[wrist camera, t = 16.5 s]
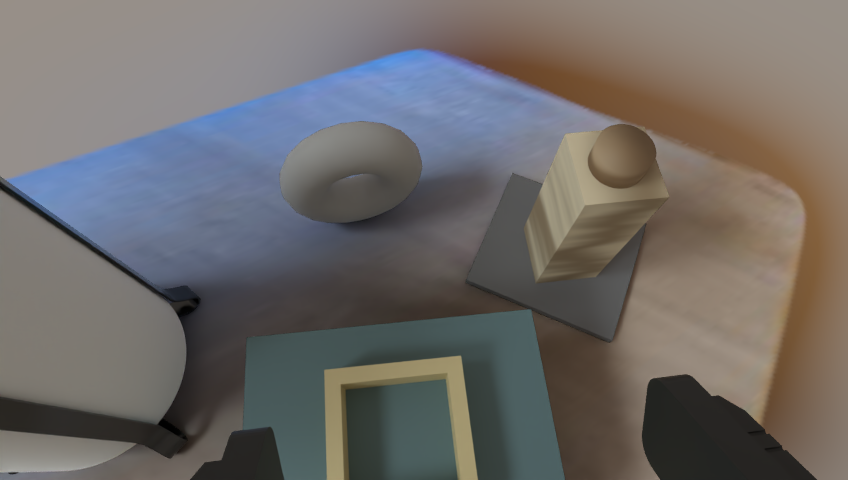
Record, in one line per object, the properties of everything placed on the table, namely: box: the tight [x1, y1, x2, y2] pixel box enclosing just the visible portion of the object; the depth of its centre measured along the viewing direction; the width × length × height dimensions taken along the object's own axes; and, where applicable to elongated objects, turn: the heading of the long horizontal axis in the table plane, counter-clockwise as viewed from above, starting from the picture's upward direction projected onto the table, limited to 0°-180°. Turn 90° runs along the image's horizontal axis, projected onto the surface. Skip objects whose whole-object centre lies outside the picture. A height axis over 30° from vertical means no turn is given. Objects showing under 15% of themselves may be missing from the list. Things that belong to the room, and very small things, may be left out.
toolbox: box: [243, 309, 565, 480], centre depth 29 cm, size 16×13×9 cm
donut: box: [280, 121, 422, 223], centre depth 36 cm, size 10×4×10 cm, turn 105°
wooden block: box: [524, 124, 669, 283], centre depth 32 cm, size 4×4×14 cm
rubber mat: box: [466, 173, 647, 342], centre depth 38 cm, size 11×10×1 cm
